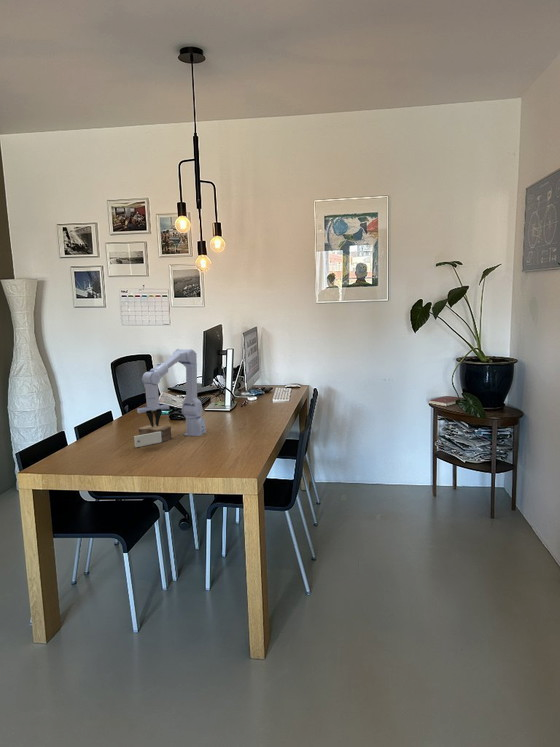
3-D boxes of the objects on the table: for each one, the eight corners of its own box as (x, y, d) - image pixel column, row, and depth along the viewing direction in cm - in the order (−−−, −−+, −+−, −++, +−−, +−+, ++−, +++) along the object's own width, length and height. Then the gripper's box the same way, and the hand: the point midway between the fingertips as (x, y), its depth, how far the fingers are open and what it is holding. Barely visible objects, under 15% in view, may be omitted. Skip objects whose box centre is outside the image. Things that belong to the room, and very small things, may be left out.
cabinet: (172, 437, 261) (171, 426, 260) (164, 441, 255) (163, 429, 254) (147, 436, 266) (146, 424, 265) (139, 440, 260) (138, 428, 259)
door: (162, 441, 255) (162, 431, 254) (164, 442, 253) (163, 431, 252) (134, 447, 247) (134, 436, 246) (136, 447, 246) (135, 437, 245)
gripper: (165, 394, 249) (167, 421, 251) (134, 398, 242) (137, 426, 244) (169, 396, 243) (171, 424, 245) (138, 400, 236) (140, 429, 238)
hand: (154, 426), depth 244 cm, fingers closed
